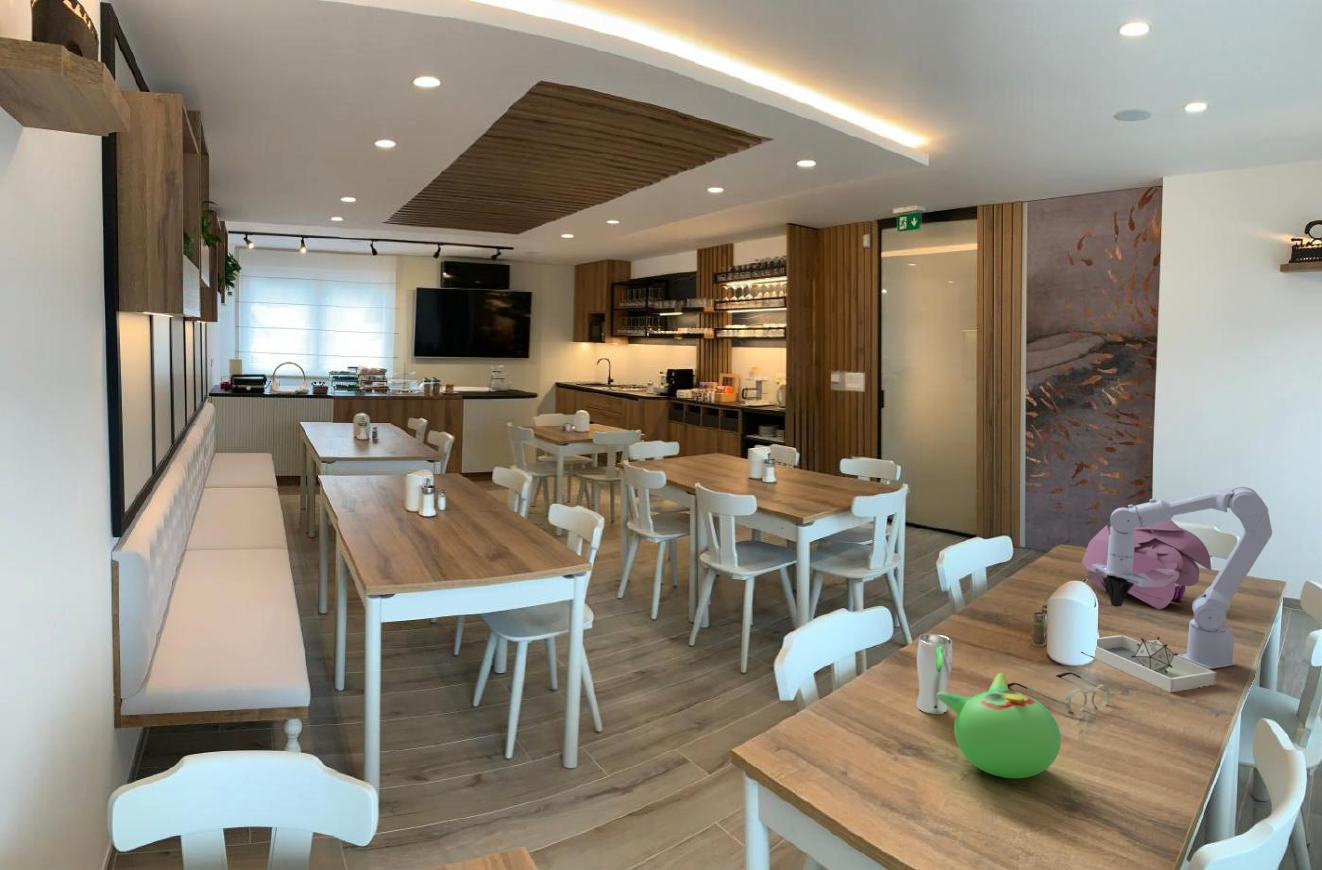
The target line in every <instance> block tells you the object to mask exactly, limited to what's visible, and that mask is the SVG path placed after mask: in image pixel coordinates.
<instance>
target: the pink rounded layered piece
mask: <svg viewBox="0 0 1322 870" xmlns="http://www.w3.org/2000/svg"><path fill="white" fill-rule="evenodd" d="M1111 526H1112V525H1111V524H1110V526H1108V524H1106V525H1105V526H1104V527H1103V528H1102V529H1101V530H1100V531H1098V533H1096V535H1094V537H1093V538H1091V539H1090V541H1089V542H1088V545H1087V547H1086V550H1085V553H1084V555H1083V557H1082V561H1081V564H1082V565H1083V567H1085V569H1087V571H1086V573H1087V575H1088V576H1090V577H1092V581H1093V584H1094V585H1095V586H1096V587H1097V588H1098V589H1100V590H1101V591H1103V592H1108V589H1107V587H1106V585H1105V583H1104V581H1103V578H1106V577H1107V575H1106V574H1103V573H1099V572H1094V571H1092V564H1102V565H1106V566H1107V557H1108V545H1109V536H1110V534H1111V533H1110V529H1111ZM1134 538H1135V547H1134V560H1133V571H1132V572H1133V573H1135V574H1137V575H1140V576H1142V577H1144V578H1147V579H1148V586H1145V587H1141V586H1138V585H1137V584H1134V585H1133V586H1132V587H1131V588H1130V590H1129V591H1128V593H1127V594H1130V595H1131V596H1133V597H1134V598H1136V599H1138V600H1141V601H1142V602H1144V603H1146V604H1148V605H1149V606H1152V607H1154V608H1155V609H1157V610H1162V609H1164V608H1166V607H1167V606H1168V605H1169V604H1170V603H1171V604H1174V605H1184V604H1187V602H1186V601H1182V599H1183V596H1184V595H1185V592H1186V587H1191V586H1195V585H1197V583H1198V582H1199V579H1200V568H1199V565H1201V566H1202V567H1203V568H1205V569H1207V570H1209V571H1210V572H1211V571H1212V561H1211V556H1210V553H1209V551H1208V549H1207V547H1206V545H1205V543H1204V542H1203V541H1202V540H1201V539H1200V538H1199V537H1198V536H1196V535H1195V534H1194V533H1193V532H1190V531H1189V530H1186V529H1184V528H1182V527H1180V526H1178V524H1177V523H1176V522H1174V521H1173V520H1172V519H1171V520H1170V521H1169V522H1166V523H1161V524H1156V525H1152V526H1147V527H1143V528H1141V527H1136V529H1135V531H1134ZM1198 564H1199V565H1198Z"/></svg>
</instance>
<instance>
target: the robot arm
mask: <svg viewBox="0 0 1322 870" xmlns="http://www.w3.org/2000/svg"><path fill="white" fill-rule="evenodd" d="M1210 509H1213V510H1216V511H1221V512H1224V513H1228V509H1230V511H1231V512H1232V513H1233V515H1235V516H1236V517H1237V518H1238V519H1239V521H1240V522H1241V525H1242V527H1243V529H1244V531H1243V533H1242V534H1241V536H1240V538H1239V539H1238V541H1237V542H1236V544H1235V546H1234V547H1233V549H1232V550H1231V552H1230V553H1229V556H1228V557H1227V558H1226V560H1225V562H1224V563H1223V565H1222V567H1221V568H1220V570H1219V571H1218V573H1217V575H1216V577H1215V578H1214V580H1213V581H1212V583H1211V585H1210V586H1209V587H1207V588H1206V590H1205V591H1204V593H1203V594H1202V595H1199V596H1198V597H1196V598H1195V599H1194V600H1193V602H1192V605H1191V608H1192V611H1193V618H1192V619H1190V621H1189V625H1188V634H1187V645H1186V646H1187V647H1186V653H1181V654H1178V655H1177V657H1179V658H1182V659H1184V660H1187V661H1189V662H1192V663H1194V664H1197V665H1199V666H1202V667H1204V668H1207V669H1209V670H1212V669H1217V668H1225V667H1232V665H1233V666H1236V665H1237V664H1236V662H1235V661H1233V657H1234V648H1235V636H1234V634H1233V632H1232V631H1231V629H1230V628H1228V627H1227V626H1225V625H1226V622H1227V613H1228V611H1229V609H1230V607H1231V604H1232V601H1233V598H1234V596H1235V594H1237V591H1238V590H1239V588H1240V587H1241V586H1242V583H1243V582H1244V580H1245V578H1246V577H1247V576H1248V574H1249V572H1250V571H1251V569H1252V568H1253V566H1254V565H1255V562H1257V560H1258V558H1259V556H1260V555H1261V554H1262V551H1263V550H1264V548H1265V547H1266V545H1267V543H1268V542H1269V540H1270V539H1271V537H1272V535H1273V530H1272V529H1273V527H1272V523H1271V520H1270V514H1269V507H1268V506H1267V505H1266V503H1265V502H1264V500H1263V499H1262V497H1260V495H1259V494H1258V493H1257V492H1256V491H1255V490H1254V489H1253V488H1250V487H1246V486H1238V487H1234V488H1232V489H1231V488H1223V489H1220V490H1214V491H1210V492H1207V493H1202V494H1199V495H1195V496H1191V497H1187V498H1182V499H1180V500H1175V501H1171V502H1167V501H1165V500H1163V499H1156V498H1151V499H1150V498H1149V502H1144V503H1140V504H1136V505H1133V504H1128V505H1127V507H1124V506H1123V507H1118V508H1116V509H1114V511H1112V512H1111V515H1110V517H1109V521H1110V526H1111V525H1112V526H1111V529H1110V533H1111V534H1110V536H1109V545H1108V557H1107V566H1106V565H1102V564H1092V571H1094V572H1099V573H1103V574H1106V575H1107V577H1106V578H1103V581H1104V583H1105V584H1104V583H1103V584H1104V586H1105V588H1106V590H1107V592H1108V594H1109V600H1110V603H1111V607H1112V606H1113V607H1117V608H1119V607H1122V605H1123V603H1124V601H1125V598H1126V596H1127V594H1129V593H1128V591H1129V590H1130V588H1131V587H1132V586H1133V585H1134V584H1137V585H1138V586H1141V587H1145V586H1148V579H1147V578H1144V577H1142V576H1140V575H1137V574H1135V573H1133V572H1132V571H1133V560H1134V547H1135V538H1134V531H1135V529H1136V527H1141V528H1143V527H1147V526H1152V525H1156V524H1161V523H1166V522H1169V521H1170V520H1172V518H1173V517H1174V516H1178V515H1183V514H1184V515H1185V514H1188V513H1194V512H1199V511H1205V510H1210Z"/></svg>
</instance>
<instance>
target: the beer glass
mask: <svg viewBox="0 0 1322 870" xmlns="http://www.w3.org/2000/svg"><path fill="white" fill-rule="evenodd" d="M952 668H953V640H952V639H951V638H950V637H948V636H945V635H941V634H938V633H937V634H936V633H924V634H920V635H919V637H918V643H917V651H916V670H917V676H918V677H917V678H918V686H919V687H918V688H919V689H918V690H919V691H918V696H917V701H916V705H915V706H916V708H917V709H918V711H920V710H921V712H922V711H923V712H922V713H925V712H928V713H933V714H942V713H944V712H946V713H947V712H948V706H947V705H946V704H944V703H943V702H942V701H941V700H939V699H938V698H937V696H936V695H937V693H939V692H944V693H947V688H948V685H949V681H950V678H951V674H952ZM928 713H927V714H928ZM942 715H943V714H942Z"/></svg>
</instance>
